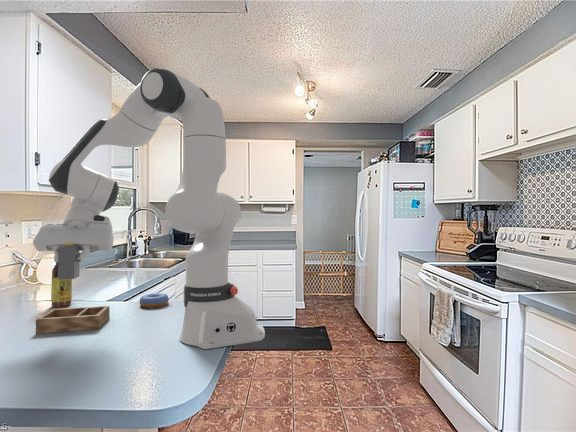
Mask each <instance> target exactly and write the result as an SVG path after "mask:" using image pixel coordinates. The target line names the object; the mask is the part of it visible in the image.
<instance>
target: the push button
mask: <svg viewBox="0 0 576 432" xmlns="http://www.w3.org/2000/svg"><path fill="white" fill-rule="evenodd" d="M80 253H81V251H80V245H74V242H65V245H63V246H59V247H58V279H72V280H75V279H77V278H79V277H80V262H77V260H76V255H77V254H80Z"/></svg>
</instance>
